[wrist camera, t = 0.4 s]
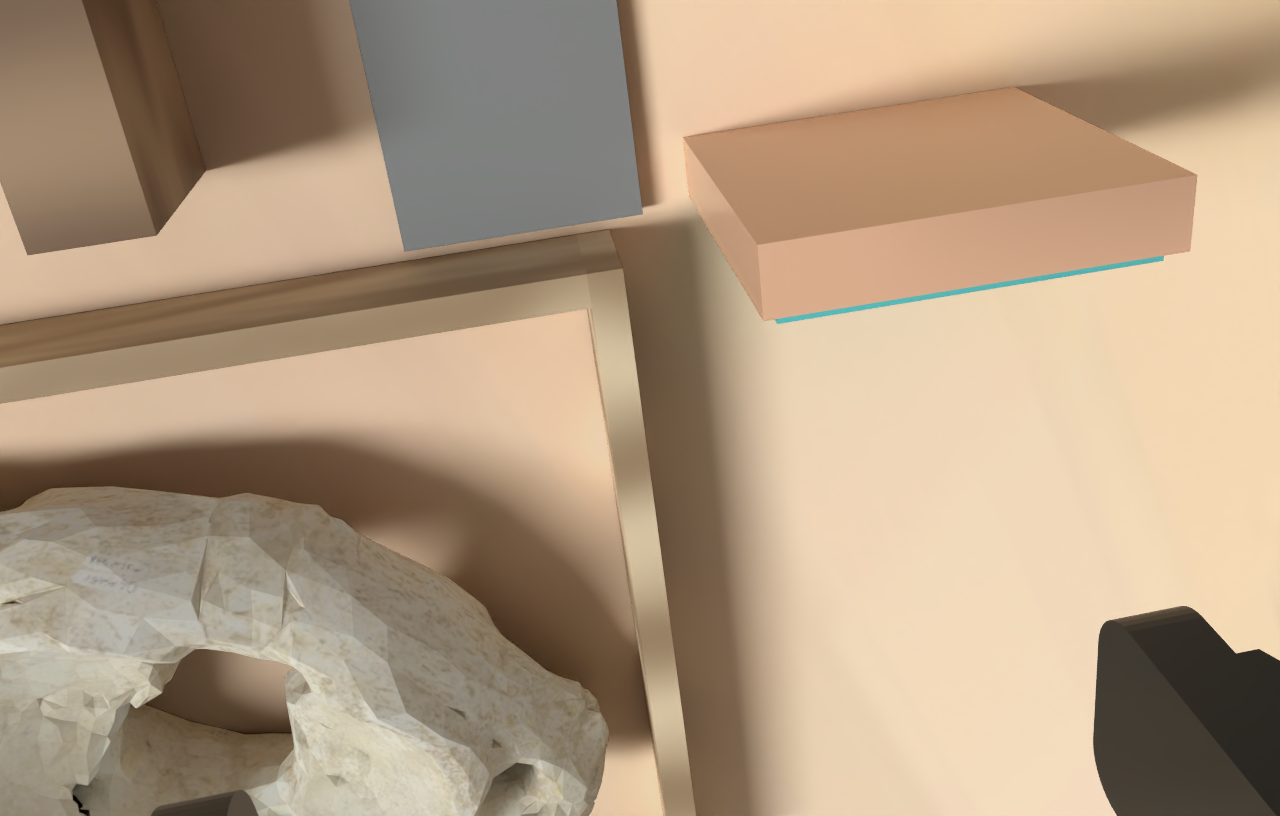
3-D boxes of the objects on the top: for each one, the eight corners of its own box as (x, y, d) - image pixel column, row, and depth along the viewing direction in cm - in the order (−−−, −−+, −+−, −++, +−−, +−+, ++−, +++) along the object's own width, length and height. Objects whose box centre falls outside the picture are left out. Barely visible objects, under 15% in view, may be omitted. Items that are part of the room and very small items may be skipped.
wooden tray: (-401, 388, 34) (-489, 445, 31) (608, 229, 36) (622, 268, 32) (-62, 978, 45) (-101, 1064, 42) (692, 834, 47) (708, 906, 44)
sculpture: (580, 646, 48) (569, 374, 38) (632, 903, 41) (636, 655, 30) (-67, 753, 44) (-281, 486, 34) (-139, 1058, 37) (-441, 837, 27)
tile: (682, 137, 35) (757, 244, 26) (1012, 86, 35) (1197, 174, 26) (690, 206, 36) (764, 333, 27) (1011, 155, 36) (1188, 263, 27)
